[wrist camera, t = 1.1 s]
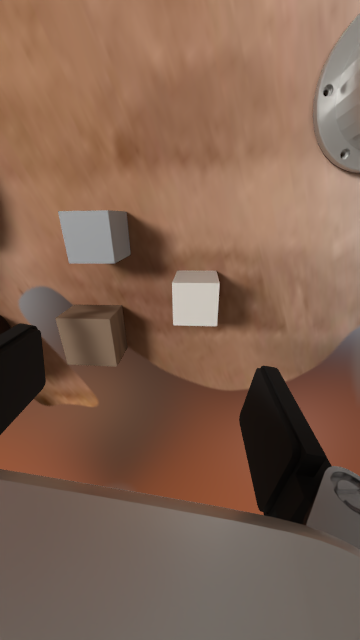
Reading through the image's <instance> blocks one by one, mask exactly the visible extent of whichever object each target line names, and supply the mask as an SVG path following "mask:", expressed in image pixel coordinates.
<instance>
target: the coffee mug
mask: <svg viewBox="0 0 360 640" xmlns="http://www.w3.org/2000/svg"><path fill="white" fill-rule="evenodd" d="M9 329H11V328H10V326H9V324H8V323H7V322H6V320H5V319H4V318H2V317H1V316H0V334H2V333H4V332H6V331H7V330H9Z"/></svg>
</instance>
